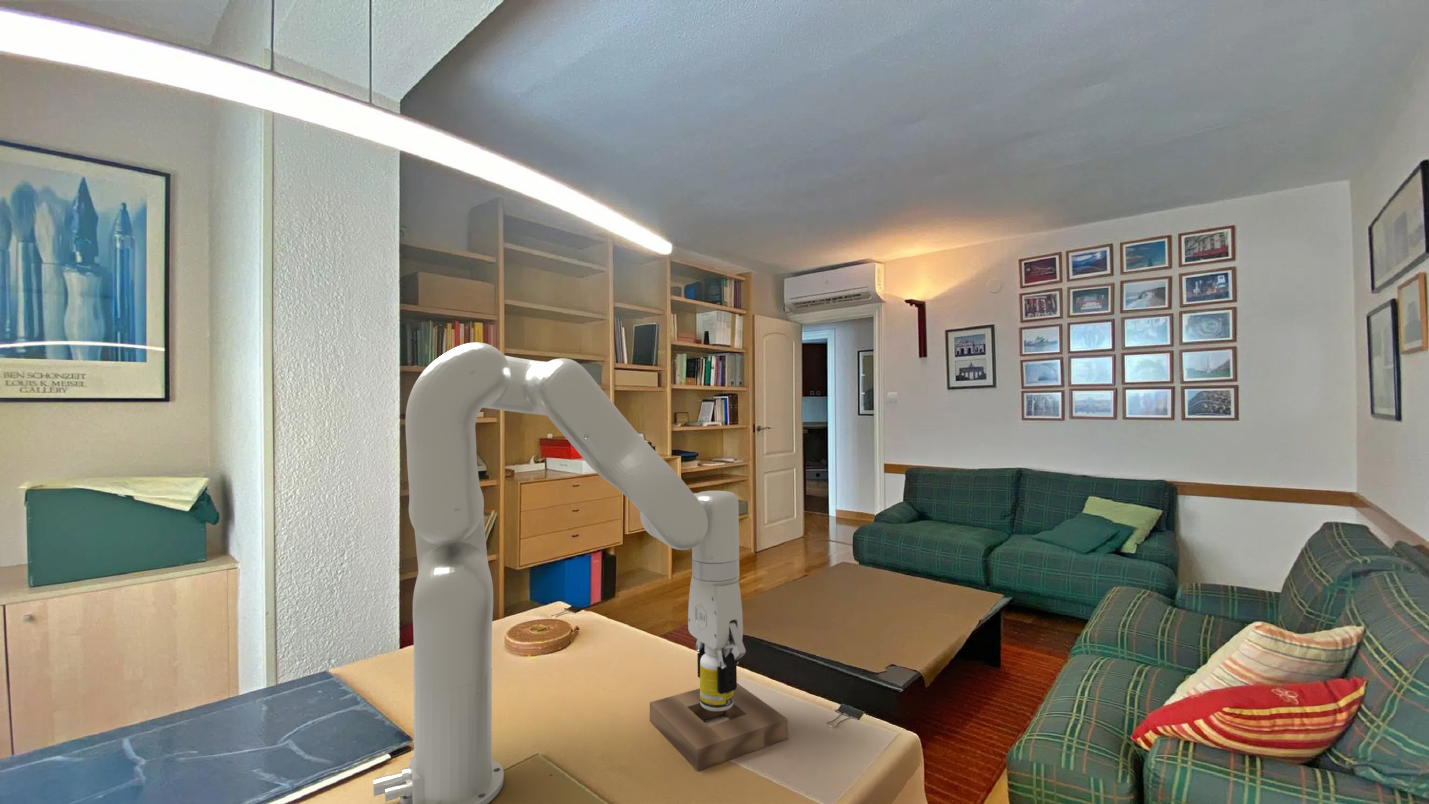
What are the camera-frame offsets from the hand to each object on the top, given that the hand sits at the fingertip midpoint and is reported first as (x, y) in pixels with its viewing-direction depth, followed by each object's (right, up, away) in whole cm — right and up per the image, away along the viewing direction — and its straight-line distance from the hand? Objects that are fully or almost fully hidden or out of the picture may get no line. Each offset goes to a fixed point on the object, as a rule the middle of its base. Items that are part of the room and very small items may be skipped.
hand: (716, 682), depth 95 cm
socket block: (0, -7, 0) cm, 7 cm away
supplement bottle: (0, -4, 0) cm, 4 cm away
